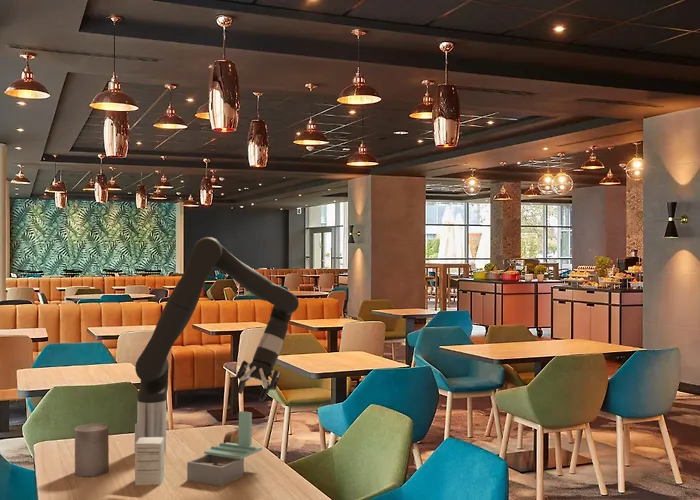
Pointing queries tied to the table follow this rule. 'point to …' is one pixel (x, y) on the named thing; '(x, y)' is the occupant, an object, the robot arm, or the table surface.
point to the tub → (214, 470)
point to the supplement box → (149, 461)
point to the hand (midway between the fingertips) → (250, 396)
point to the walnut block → (223, 463)
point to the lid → (244, 441)
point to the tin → (232, 436)
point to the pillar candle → (91, 449)
